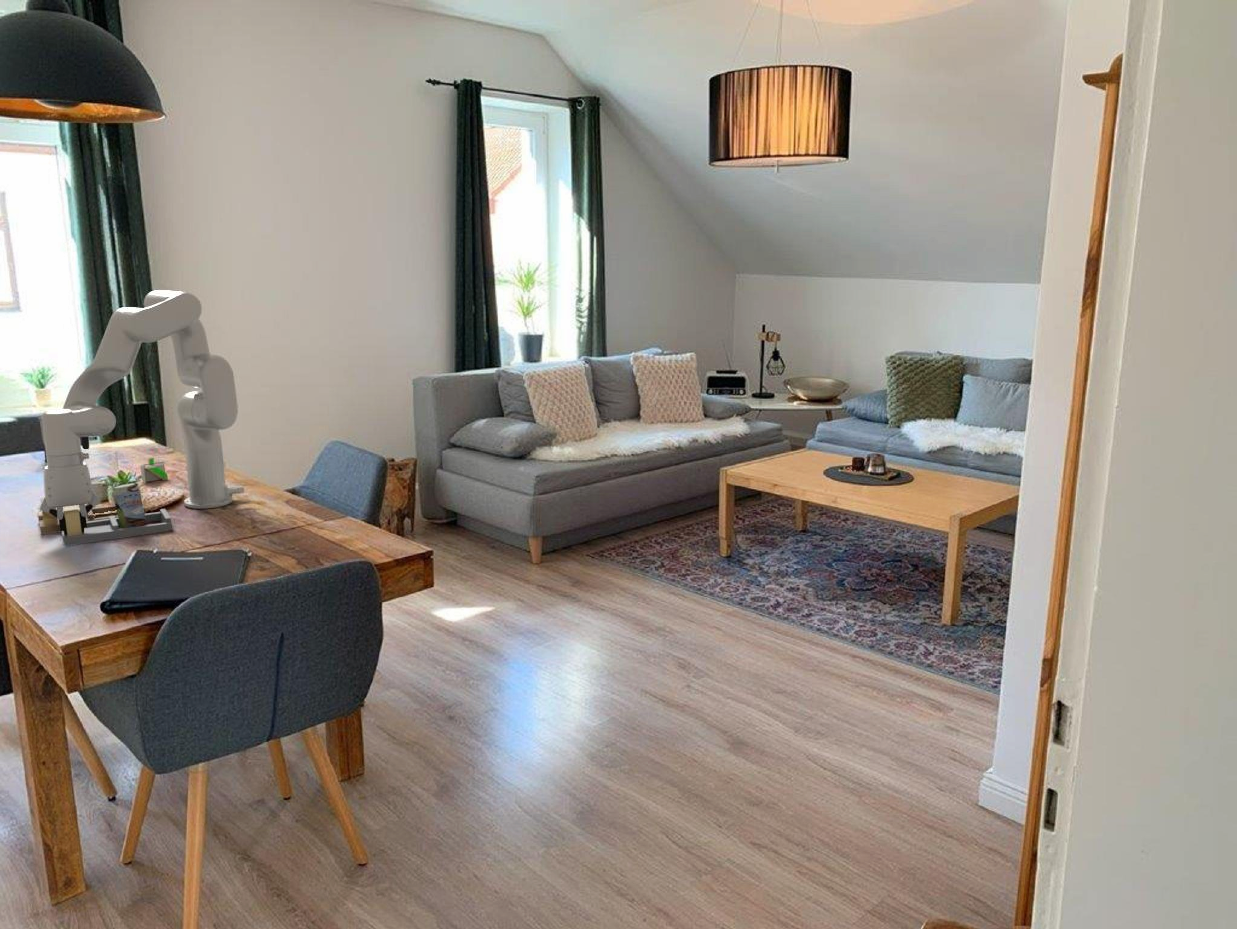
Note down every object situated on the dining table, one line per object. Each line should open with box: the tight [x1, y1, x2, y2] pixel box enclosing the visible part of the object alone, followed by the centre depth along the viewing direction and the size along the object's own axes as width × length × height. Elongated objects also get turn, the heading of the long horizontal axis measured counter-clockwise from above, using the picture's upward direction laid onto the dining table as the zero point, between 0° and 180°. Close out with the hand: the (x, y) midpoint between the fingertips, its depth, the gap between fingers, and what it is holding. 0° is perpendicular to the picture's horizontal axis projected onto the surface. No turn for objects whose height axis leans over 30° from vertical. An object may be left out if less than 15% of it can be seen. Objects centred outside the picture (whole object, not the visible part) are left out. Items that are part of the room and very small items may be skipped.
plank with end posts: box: [37, 497, 147, 535], centre depth 248 cm, size 24×12×7 cm, turn 123°
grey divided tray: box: [60, 506, 173, 547], centre depth 240 cm, size 24×12×7 cm, turn 123°
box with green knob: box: [140, 457, 168, 484], centre depth 288 cm, size 4×7×8 cm, turn 136°
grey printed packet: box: [112, 482, 148, 529], centre depth 241 cm, size 6×7×12 cm
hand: (73, 531), depth 235 cm, fingers closed on grey divided tray, 3 cm apart
